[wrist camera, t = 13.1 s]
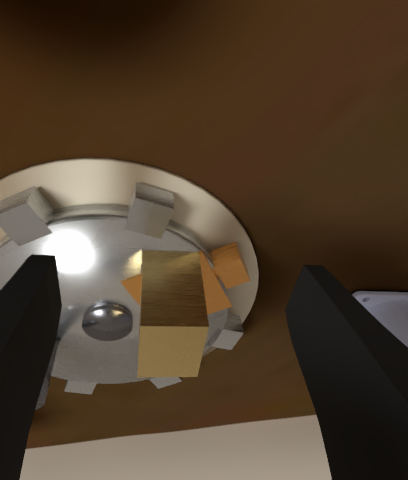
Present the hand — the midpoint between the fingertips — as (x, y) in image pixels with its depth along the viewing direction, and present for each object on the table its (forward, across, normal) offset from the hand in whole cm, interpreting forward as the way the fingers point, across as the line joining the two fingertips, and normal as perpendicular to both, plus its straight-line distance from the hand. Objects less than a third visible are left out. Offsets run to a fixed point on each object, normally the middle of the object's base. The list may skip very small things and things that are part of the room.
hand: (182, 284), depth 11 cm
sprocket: (+10, +3, +11) cm, 15 cm away
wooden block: (+8, 0, +7) cm, 10 cm away
